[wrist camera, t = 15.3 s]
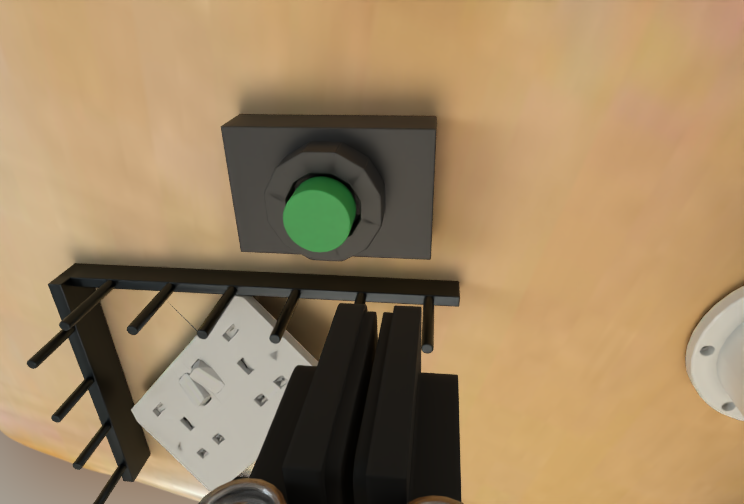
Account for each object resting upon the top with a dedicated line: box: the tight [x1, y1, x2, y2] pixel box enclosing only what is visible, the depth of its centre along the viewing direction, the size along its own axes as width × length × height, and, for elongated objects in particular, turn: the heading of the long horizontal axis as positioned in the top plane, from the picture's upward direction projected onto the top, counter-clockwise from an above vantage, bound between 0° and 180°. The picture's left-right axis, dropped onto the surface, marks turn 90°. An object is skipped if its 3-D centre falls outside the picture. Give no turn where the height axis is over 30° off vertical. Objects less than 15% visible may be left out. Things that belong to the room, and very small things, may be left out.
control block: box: [221, 114, 437, 261], centre depth 29 cm, size 12×8×5 cm, turn 91°
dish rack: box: [27, 263, 460, 504], centre depth 38 cm, size 28×24×7 cm
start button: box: [283, 176, 356, 252], centre depth 27 cm, size 4×4×2 cm
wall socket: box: [131, 295, 318, 491], centre depth 39 cm, size 18×15×4 cm
